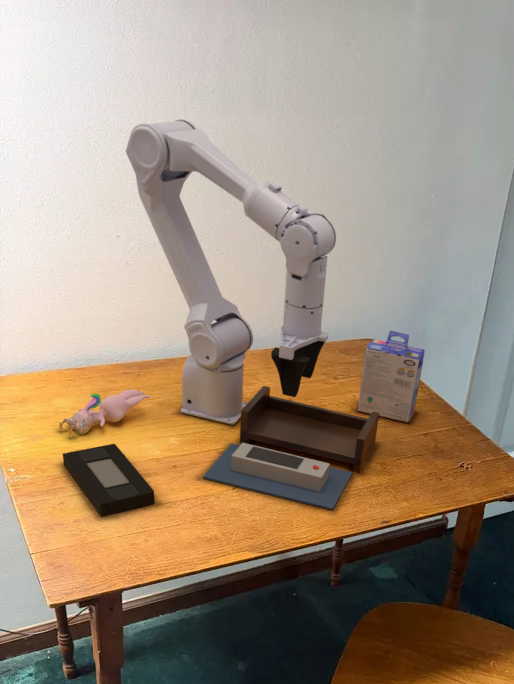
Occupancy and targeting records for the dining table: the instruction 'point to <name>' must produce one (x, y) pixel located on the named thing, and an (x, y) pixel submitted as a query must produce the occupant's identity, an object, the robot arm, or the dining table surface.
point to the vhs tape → (108, 479)
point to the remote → (280, 467)
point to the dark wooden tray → (308, 428)
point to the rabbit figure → (103, 410)
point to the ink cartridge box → (391, 378)
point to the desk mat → (279, 483)
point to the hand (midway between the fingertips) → (297, 385)
